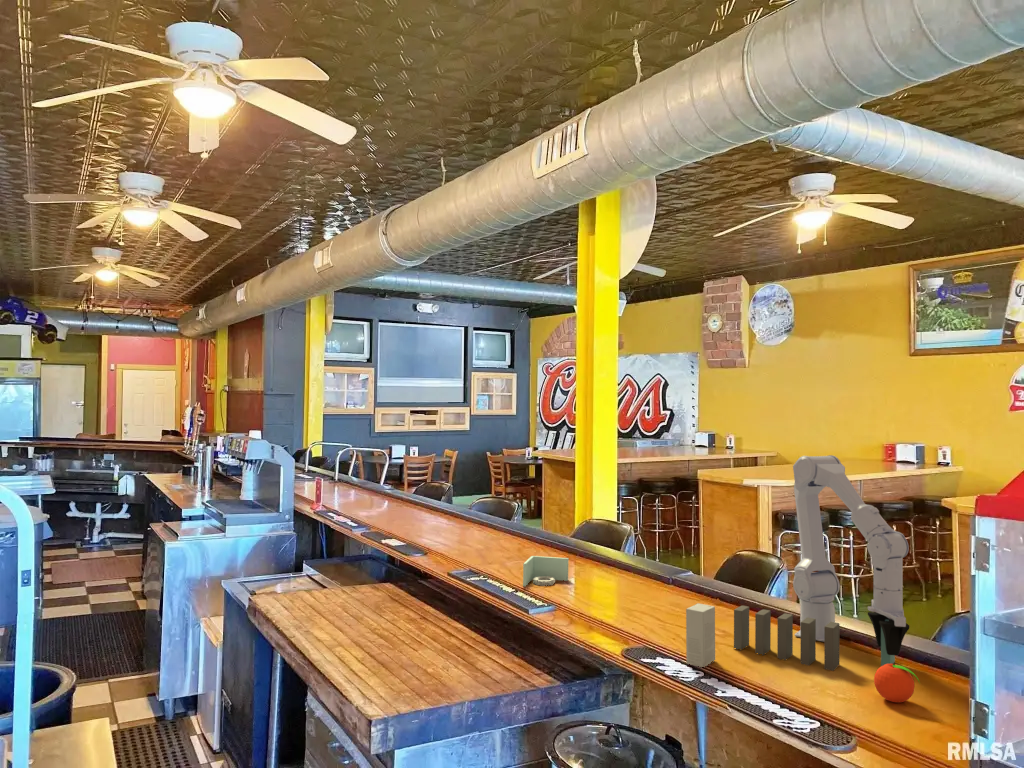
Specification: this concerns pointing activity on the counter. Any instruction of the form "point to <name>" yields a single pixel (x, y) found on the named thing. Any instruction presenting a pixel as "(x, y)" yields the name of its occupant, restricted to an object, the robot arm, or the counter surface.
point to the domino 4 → (808, 641)
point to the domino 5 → (831, 646)
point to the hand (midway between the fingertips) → (887, 650)
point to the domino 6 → (885, 652)
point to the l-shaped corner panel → (545, 570)
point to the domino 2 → (762, 631)
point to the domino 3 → (785, 636)
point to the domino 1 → (741, 627)
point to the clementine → (894, 682)
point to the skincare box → (700, 635)
